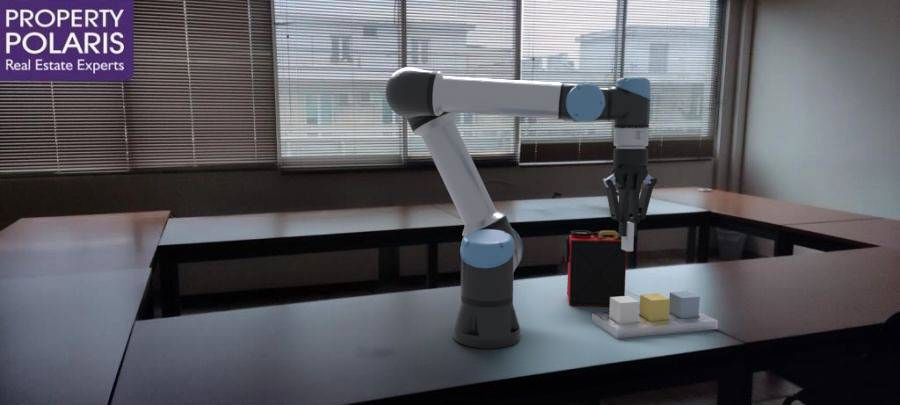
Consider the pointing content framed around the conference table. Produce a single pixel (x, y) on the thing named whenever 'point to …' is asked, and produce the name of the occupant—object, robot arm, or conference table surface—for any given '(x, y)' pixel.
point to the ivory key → (624, 309)
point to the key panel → (654, 325)
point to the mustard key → (654, 307)
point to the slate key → (684, 304)
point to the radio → (594, 267)
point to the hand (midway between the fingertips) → (627, 249)
